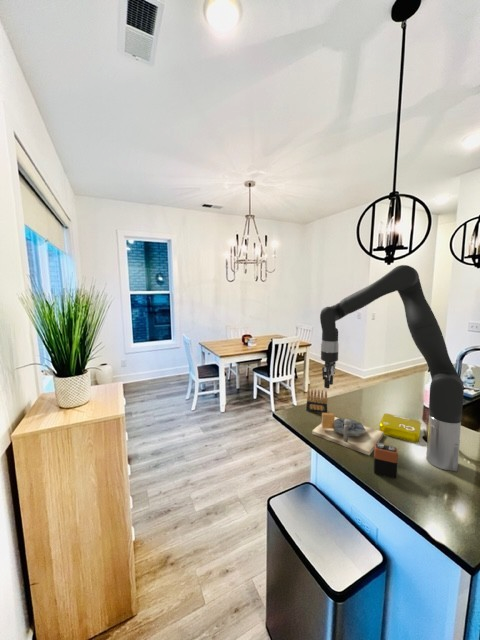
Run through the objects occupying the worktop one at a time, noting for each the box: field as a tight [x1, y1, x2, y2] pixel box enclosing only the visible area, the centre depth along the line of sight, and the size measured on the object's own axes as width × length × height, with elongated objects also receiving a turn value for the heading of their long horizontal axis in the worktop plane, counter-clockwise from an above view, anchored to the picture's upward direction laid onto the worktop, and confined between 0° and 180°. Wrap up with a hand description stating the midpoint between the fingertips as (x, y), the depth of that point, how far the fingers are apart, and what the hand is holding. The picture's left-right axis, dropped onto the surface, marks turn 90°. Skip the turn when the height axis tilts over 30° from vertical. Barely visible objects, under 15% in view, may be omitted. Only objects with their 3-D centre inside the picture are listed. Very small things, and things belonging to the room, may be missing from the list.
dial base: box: [311, 416, 384, 457], centre depth 117 cm, size 24×20×8 cm
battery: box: [373, 442, 399, 479], centre depth 92 cm, size 4×7×10 cm, turn 65°
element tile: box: [378, 413, 422, 444], centre depth 120 cm, size 15×15×5 cm
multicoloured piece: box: [321, 412, 365, 436], centre depth 117 cm, size 18×13×6 cm
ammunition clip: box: [305, 388, 328, 414], centre depth 141 cm, size 11×2×12 cm, turn 69°
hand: (328, 385), depth 123 cm, fingers open, 5 cm apart
